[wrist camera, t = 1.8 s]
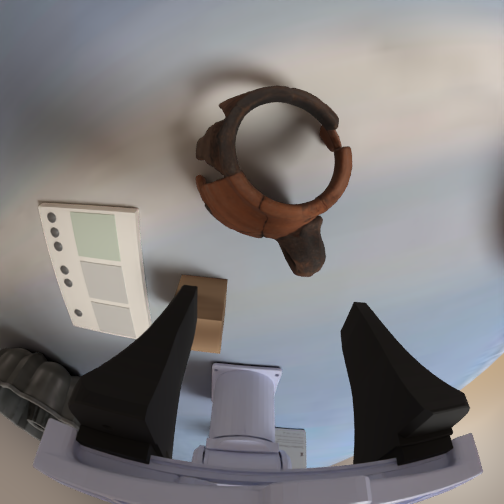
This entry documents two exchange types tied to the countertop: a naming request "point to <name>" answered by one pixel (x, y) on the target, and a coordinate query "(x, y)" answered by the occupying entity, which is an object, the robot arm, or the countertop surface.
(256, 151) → the countertop surface
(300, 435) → the skincare box
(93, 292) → the board
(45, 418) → the bundt pan
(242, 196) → the pottery mug
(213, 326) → the walnut block
